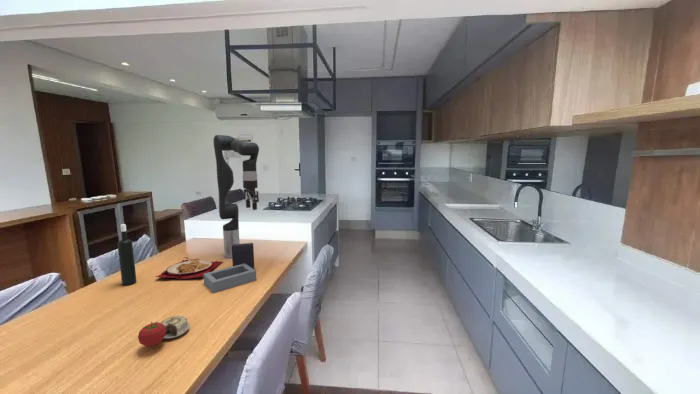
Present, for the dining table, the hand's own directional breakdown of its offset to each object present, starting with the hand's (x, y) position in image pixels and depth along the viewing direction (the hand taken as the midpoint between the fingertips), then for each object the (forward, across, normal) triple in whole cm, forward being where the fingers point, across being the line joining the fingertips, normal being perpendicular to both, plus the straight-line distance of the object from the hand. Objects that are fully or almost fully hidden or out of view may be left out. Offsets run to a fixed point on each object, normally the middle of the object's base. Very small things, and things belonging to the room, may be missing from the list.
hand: (251, 208), depth 160 cm
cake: (+34, +38, -47) cm, 70 cm away
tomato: (+34, +42, -54) cm, 77 cm away
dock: (+34, +10, -17) cm, 39 cm away
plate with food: (+40, -12, -30) cm, 52 cm away
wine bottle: (+34, -23, -55) cm, 69 cm away
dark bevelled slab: (+34, 0, -6) cm, 35 cm away
